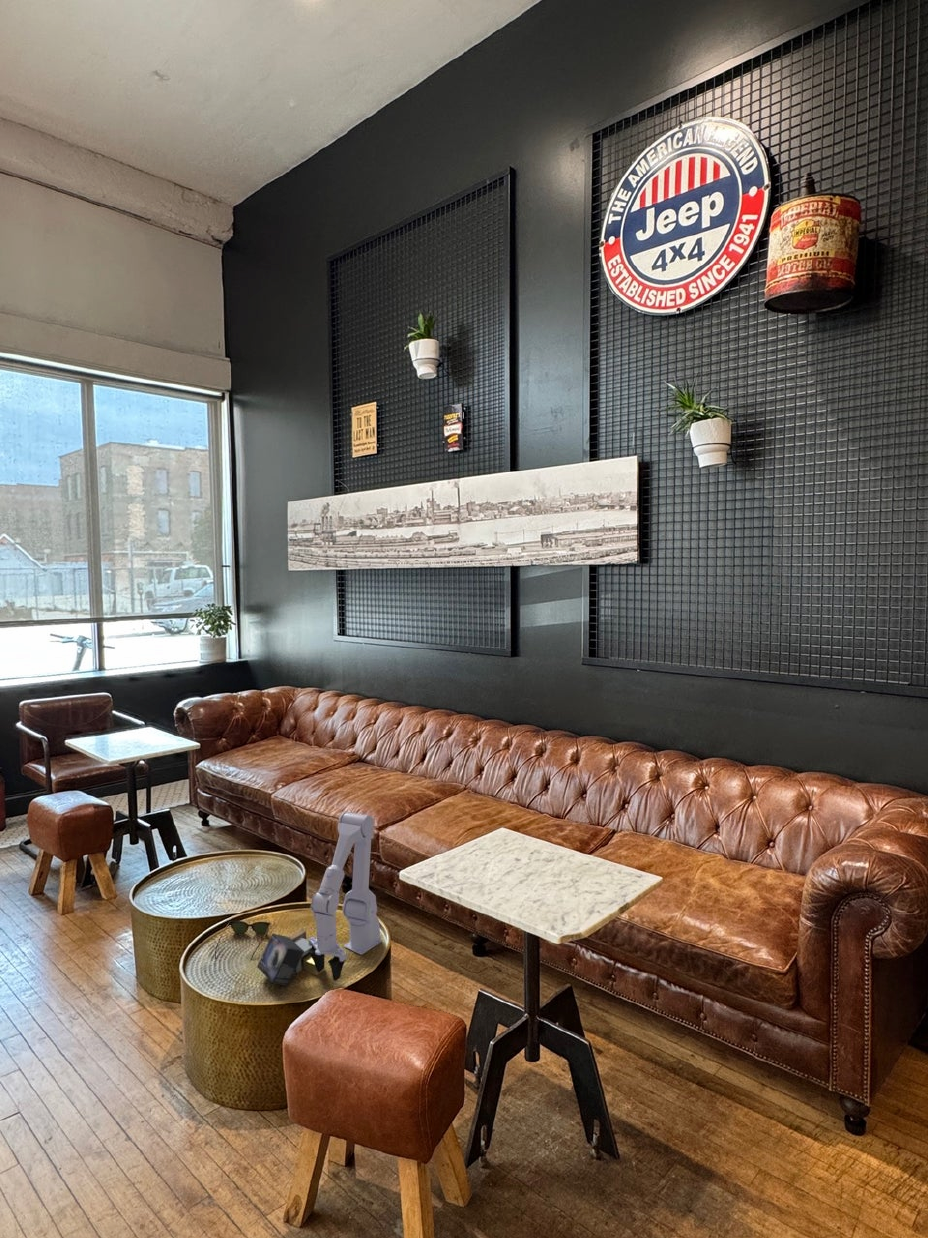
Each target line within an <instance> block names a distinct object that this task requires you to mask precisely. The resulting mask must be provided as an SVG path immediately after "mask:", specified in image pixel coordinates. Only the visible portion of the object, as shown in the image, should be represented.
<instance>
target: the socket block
mask: <svg viewBox="0 0 928 1238" xmlns="http://www.w3.org/2000/svg"><path fill="white" fill-rule="evenodd" d="M294 943H296V944H297V945H298V946H299V947H300V948H301V949H302V950H303V951H304V953H303V955H302V957H303V956H304V955H306V954H307V953H309V952H308V951H309V950H310V949H311V948H312V946H309V941H308V939H307V938H306V939H304V938H301V937H300V938H299V939H297V940H295V941H294ZM302 969H303V968H301V959H300V961H299V963H298V965H297V968H296V970H295V972H294V974H298V973H300V972H301V971H302Z"/></svg>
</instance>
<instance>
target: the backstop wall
mask: <svg viewBox="0 0 928 1238" xmlns="http://www.w3.org/2000/svg"><path fill="white" fill-rule="evenodd" d="M288 937H289V938H290V939H291V940H292V941H293V942H294V941H295V940H297V939H299V938H300V937H301V938H304V939H306V940H307V931H306V930H304V929H300V930H298V931H297V932H295V933H294V934H291V935H290V936H288Z"/></svg>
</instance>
